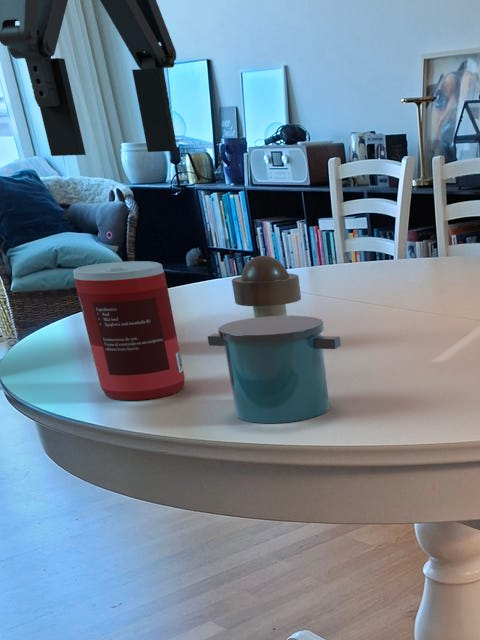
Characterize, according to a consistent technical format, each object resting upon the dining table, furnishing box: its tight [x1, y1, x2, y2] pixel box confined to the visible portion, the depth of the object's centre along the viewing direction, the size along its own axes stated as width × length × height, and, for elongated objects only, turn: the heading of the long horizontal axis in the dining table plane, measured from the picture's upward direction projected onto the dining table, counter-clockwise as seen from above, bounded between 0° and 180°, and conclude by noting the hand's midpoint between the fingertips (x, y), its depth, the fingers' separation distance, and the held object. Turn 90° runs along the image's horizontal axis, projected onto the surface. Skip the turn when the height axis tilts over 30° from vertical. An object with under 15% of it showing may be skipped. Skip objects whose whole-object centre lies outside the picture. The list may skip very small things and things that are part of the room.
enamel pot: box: [207, 315, 342, 424], centre depth 74 cm, size 9×12×7 cm
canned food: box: [72, 260, 186, 401], centre depth 81 cm, size 8×8×11 cm
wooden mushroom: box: [231, 255, 302, 318], centre depth 97 cm, size 7×7×10 cm
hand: (119, 154), depth 76 cm, fingers open, 13 cm apart
